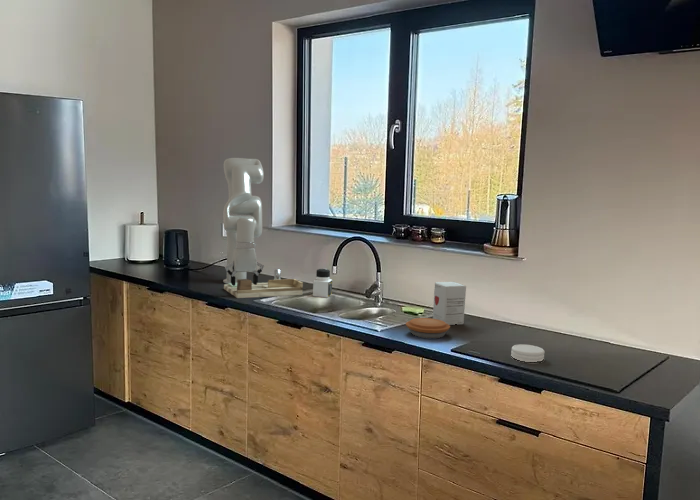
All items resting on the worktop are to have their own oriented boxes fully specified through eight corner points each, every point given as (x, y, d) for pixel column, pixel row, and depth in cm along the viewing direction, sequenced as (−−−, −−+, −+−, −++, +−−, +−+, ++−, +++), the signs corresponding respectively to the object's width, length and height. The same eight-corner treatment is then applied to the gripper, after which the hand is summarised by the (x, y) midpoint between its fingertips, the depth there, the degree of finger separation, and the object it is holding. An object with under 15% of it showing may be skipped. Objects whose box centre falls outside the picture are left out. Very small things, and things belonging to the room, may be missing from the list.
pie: (450, 331, 224) (451, 318, 224) (447, 342, 209) (448, 327, 209) (408, 327, 228) (409, 314, 227) (402, 337, 213) (403, 323, 212)
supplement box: (431, 320, 241) (433, 281, 239) (451, 318, 244) (454, 281, 242) (443, 325, 232) (446, 286, 230) (464, 324, 236) (466, 285, 234)
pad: (228, 284, 285) (228, 283, 285) (242, 284, 288) (242, 282, 288) (232, 287, 279) (232, 285, 279) (247, 287, 282) (247, 285, 282)
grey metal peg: (273, 283, 292) (273, 269, 292) (279, 283, 294) (279, 268, 293) (275, 284, 290) (275, 270, 289) (281, 284, 291) (281, 269, 290)
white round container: (506, 354, 198) (507, 343, 198) (536, 354, 199) (537, 344, 199) (517, 363, 188) (518, 352, 188) (549, 364, 189) (550, 353, 189)
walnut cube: (236, 290, 272) (237, 279, 272) (247, 290, 275) (248, 278, 274) (240, 292, 268) (240, 281, 267) (251, 292, 270) (251, 280, 270)
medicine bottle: (328, 297, 275) (329, 270, 274) (312, 296, 277) (313, 269, 275) (331, 294, 282) (332, 268, 281) (316, 293, 284) (317, 267, 282)
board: (223, 288, 286) (224, 276, 285) (285, 285, 299) (285, 274, 298) (237, 298, 266) (237, 285, 266) (302, 294, 280) (302, 282, 279)
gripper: (261, 244, 276) (260, 282, 278) (223, 245, 269) (222, 284, 271) (266, 246, 270) (265, 285, 272) (227, 246, 262) (227, 287, 264)
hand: (244, 284), depth 271 cm, fingers open, 9 cm apart
